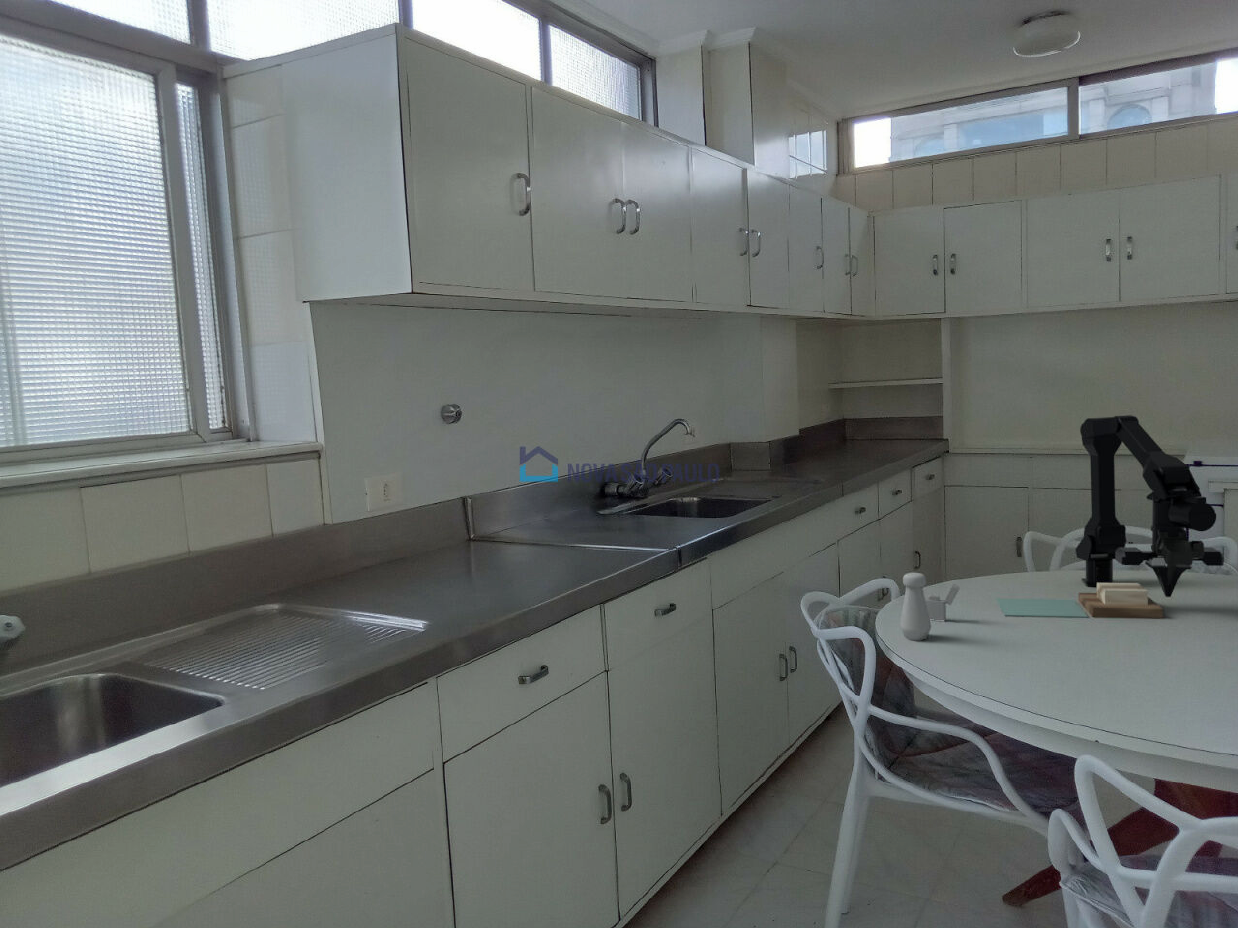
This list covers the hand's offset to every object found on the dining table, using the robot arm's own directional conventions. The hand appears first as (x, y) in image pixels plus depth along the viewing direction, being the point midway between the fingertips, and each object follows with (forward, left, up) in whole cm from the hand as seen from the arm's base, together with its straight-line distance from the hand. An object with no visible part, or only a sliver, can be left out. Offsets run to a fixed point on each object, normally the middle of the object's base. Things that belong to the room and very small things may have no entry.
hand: (1167, 596), depth 188 cm
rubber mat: (0, -25, -3) cm, 25 cm away
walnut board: (0, -9, -3) cm, 10 cm away
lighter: (+12, -46, -3) cm, 47 cm away
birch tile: (0, -9, -1) cm, 9 cm away
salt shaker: (+25, -52, -3) cm, 57 cm away
